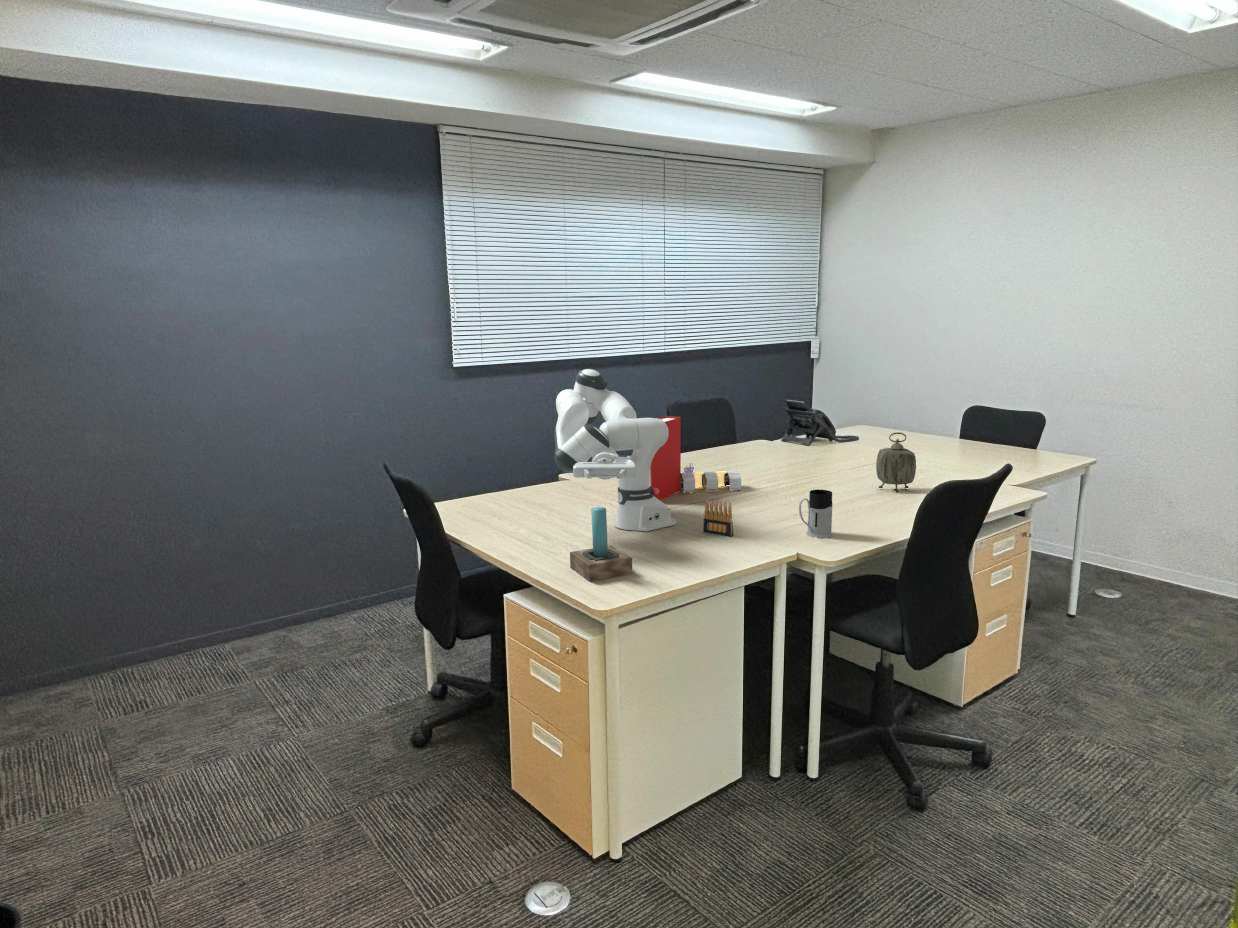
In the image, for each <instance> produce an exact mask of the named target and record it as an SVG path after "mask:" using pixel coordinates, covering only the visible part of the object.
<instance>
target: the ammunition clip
mask: <svg viewBox="0 0 1238 928" xmlns="http://www.w3.org/2000/svg"><path fill="white" fill-rule="evenodd" d="M732 510H733V509H732V502H731V501H729V502H728V504H727V502H726V501H724V503H722V500H720V501H719V503H718V500H715V501H714V502H713V499H710V501H709V500H708V499H707V498H706V500H705V504H704V512H703V513H704V516H703V517H704V518H703V527H702V532H703V533H704V534H709V535H717V536H722V537H729V538H732V537H733V536H734V528H733V527H734V526H733V525H734V523H733V513H732V512H733V511H732Z"/></svg>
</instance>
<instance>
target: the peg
mask: <svg viewBox="0 0 1238 928" xmlns="http://www.w3.org/2000/svg"><path fill="white" fill-rule="evenodd" d="M607 520H608V519H607V508H606V507H605V506H604V507H602V506H598V507H597V506H596V507H592V508H591V531H592V548H593V557H595V558H599V557H605V556H608V546H609V545H608V544H609V543H608V525H607V523H608V521H607Z"/></svg>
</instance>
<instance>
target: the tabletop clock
mask: <svg viewBox="0 0 1238 928" xmlns="http://www.w3.org/2000/svg"><path fill="white" fill-rule="evenodd" d="M893 435H902V436H904V439H903V440H902V439H901V440H900V439H899V438H896V440H893V439H892V438H891V437H893ZM888 439H889V440H890V441H891V442H893V443H892V444H891V446H890V447H885V448H881V449H879V451H878V453H877V457H876V464H875V465H876V466H875V468H876V469H875V471H876V476H877V479H878V480H879V481H880V482H881V483H882V484H881V485H879V486H878V489H879V488H882V489H883V488H884V487H883V486H885V484H887V485H895V489H894V490H895V491H898V492H899V488H898V485H904V489H905V488H908V489H909V488H910V487H909V486H908V485H909V484H911V483H913V482H914V480H915V477H916V471H917V458H916V454H915V452H913V451H911V450H910V449H907V448H905V447H904V446H903V444H902V443H903V442H905V441H907V435H906V434H905V433H903V432H897V431H896V432H892V433H891V434H889V437H888ZM895 491H894V492H895Z"/></svg>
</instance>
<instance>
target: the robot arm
mask: <svg viewBox="0 0 1238 928" xmlns="http://www.w3.org/2000/svg"><path fill="white" fill-rule="evenodd" d="M608 386H609V383H608V381H606V380H605V377H604V376H603V375H602V373H600V371H598V370H596V369H591V368H583V369H581V370H579V371H578V373H577V374H576V377H575V383H574V385H573V389H572V388H567V389H564V390H561V391H560V392H559V393H558V394H557V396H556V398H555V407H556V408H555V409H556V412H557V415H558V417H557V421H556V425H555V427H554V431H553V433H554V435H553V437H554V447H555V451H554V461H555V464H556V465H557V467H558V468H559V469H560V470H561V471H562V472H564V473H566V474H572V475H573V477H574V478H580V479H581V478H583V479H584V478H586V479H593V478H595V479H596V478H598V479H599V480H610V479H615V478H616V479H617V480H618V487H617V503H618V504H617V505H618V507H617V515H616V519H615V523H614V526H615V527H616V528H617V529H621V530H625V531H637V532H638V531H639V532H649V531H655V530H657V529H663V528H666V527H671V526H675V525H677V520H676V519H675V518H674V517H672V516H671V512H670V509H669V507H668V506H667V504H666V503H664V502H662V500H659V499H657V498H656V497H654V494H653V493H655V494H658V493H659V491H658V489H657V488H652V487H650V486H649V480H650V466H651V462H652V459H653V457H654V455H655V454H656V452H657V451H658V449H659V448H660V447H661V446H663V445H664V444H665V443H666V441H667V439H668V435H669V431H668V427H667V425H666V423H665V422H664V421H663V420H662V419H657V418H658V417H656V418H655V417H639V418H637V417H638V416H637V413H636V410H635V409H634V408H633V406H632V405H631V404H630V403H629V401H628V400H627V399H626V398H625V397H624V396H623V395H622V394H620V393H619V392H617V391H614V390H608V389H607V387H608ZM599 412H600V414H601V415H602V418H603V419H604V422H602V424H601V425H600V426H599V427H597V426H596V425H592V424H594V423H596V421H597V418H598V416H599V414H598V413H599ZM618 451H619V452H620V451H632V454H631V455H623V454H618V453H617V452H618ZM591 458H592V459H591ZM590 459H591V461H589V460H590Z"/></svg>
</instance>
